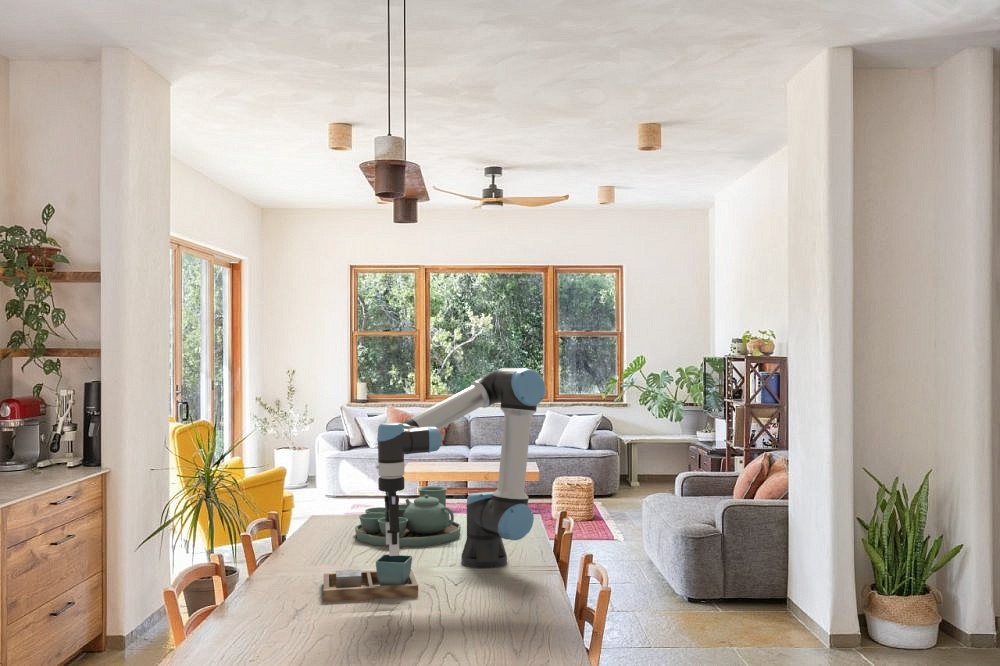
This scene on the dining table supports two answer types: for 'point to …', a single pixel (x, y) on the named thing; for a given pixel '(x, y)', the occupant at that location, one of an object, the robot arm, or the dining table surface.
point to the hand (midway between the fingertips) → (392, 549)
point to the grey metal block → (348, 578)
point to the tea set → (413, 521)
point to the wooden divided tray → (368, 588)
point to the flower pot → (393, 569)
